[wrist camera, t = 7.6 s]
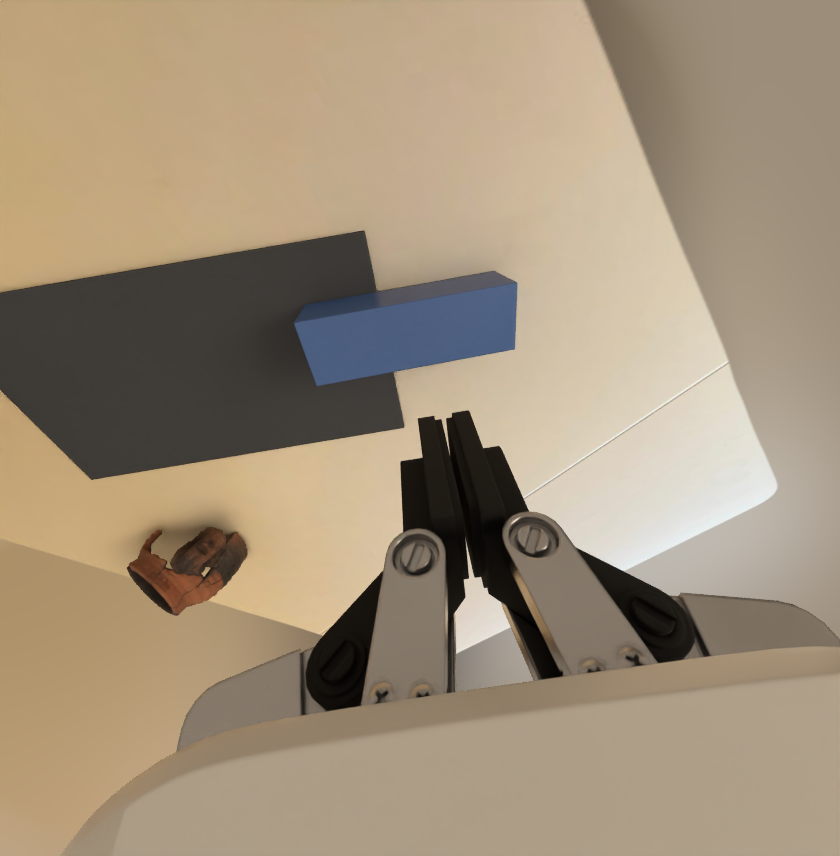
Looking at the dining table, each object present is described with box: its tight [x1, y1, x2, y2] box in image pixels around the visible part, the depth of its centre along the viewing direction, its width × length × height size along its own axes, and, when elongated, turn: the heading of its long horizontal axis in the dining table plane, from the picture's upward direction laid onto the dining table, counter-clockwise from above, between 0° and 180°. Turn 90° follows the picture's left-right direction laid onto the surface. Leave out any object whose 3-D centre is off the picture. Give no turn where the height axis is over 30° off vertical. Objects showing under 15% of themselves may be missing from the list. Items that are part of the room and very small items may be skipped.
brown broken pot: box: [127, 527, 247, 616], centre depth 35 cm, size 12×10×8 cm
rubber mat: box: [0, 231, 404, 480], centre depth 26 cm, size 16×30×1 cm, turn 98°
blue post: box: [294, 271, 517, 386], centre depth 23 cm, size 4×4×14 cm
